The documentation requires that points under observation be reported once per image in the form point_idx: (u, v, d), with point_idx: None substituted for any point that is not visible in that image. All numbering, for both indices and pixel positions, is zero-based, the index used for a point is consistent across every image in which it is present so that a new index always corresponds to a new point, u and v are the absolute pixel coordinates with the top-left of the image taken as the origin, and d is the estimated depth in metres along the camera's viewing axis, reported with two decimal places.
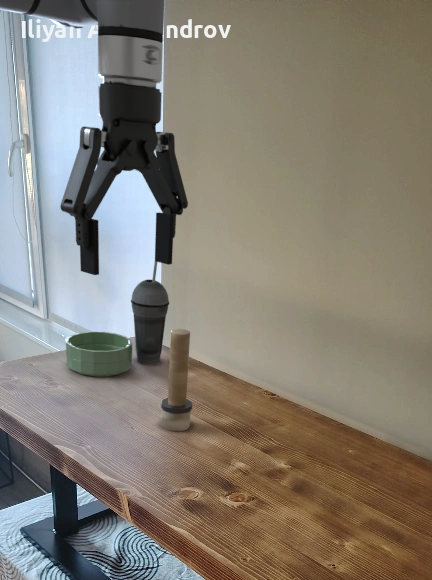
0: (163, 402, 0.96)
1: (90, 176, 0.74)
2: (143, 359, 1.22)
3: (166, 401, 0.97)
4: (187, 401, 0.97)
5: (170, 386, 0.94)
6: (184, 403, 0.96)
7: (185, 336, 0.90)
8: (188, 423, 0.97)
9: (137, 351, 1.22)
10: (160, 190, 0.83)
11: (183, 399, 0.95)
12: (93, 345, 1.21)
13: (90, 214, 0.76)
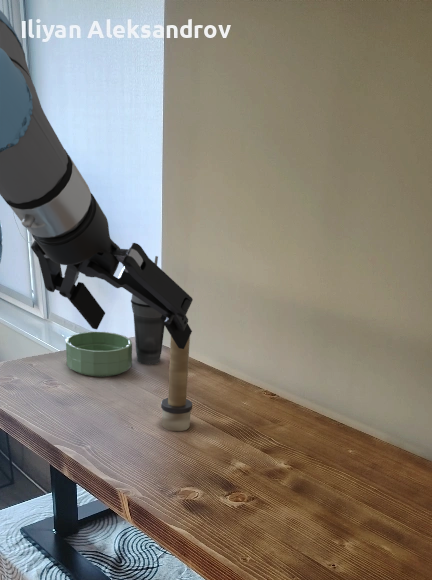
0: (163, 402, 0.96)
1: (48, 273, 0.75)
2: (143, 359, 1.22)
3: (166, 401, 0.97)
4: (187, 401, 0.97)
5: (170, 386, 0.94)
6: (184, 403, 0.96)
7: None
8: (188, 423, 0.97)
9: (137, 351, 1.22)
10: None
11: (183, 399, 0.95)
12: (93, 345, 1.21)
13: (63, 295, 0.79)
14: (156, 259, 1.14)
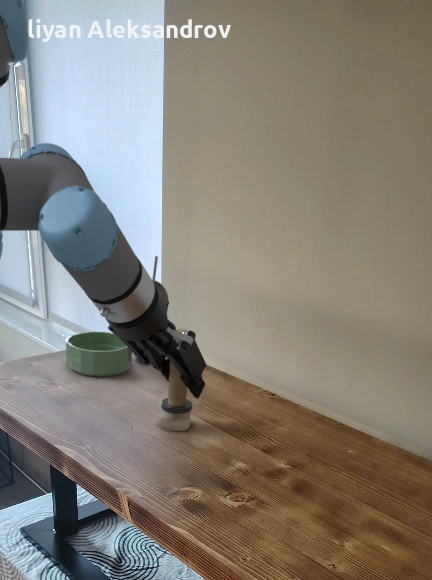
0: (163, 402, 0.96)
1: (132, 348, 0.90)
2: None
3: (166, 401, 0.97)
4: (187, 401, 0.97)
5: (170, 386, 0.94)
6: (184, 403, 0.96)
7: None
8: (188, 423, 0.97)
9: None
10: None
11: (183, 399, 0.95)
12: (93, 345, 1.21)
13: (155, 368, 0.93)
14: (156, 259, 1.14)
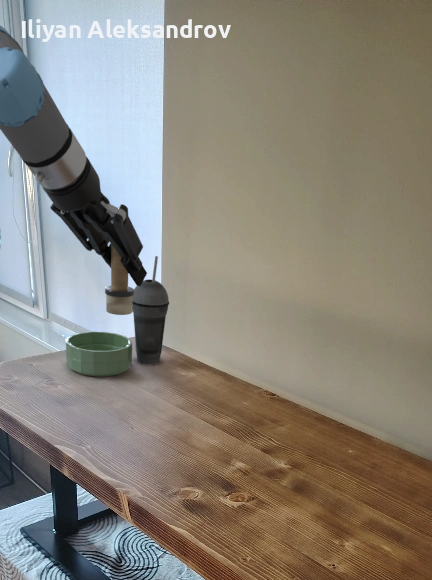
0: (107, 288, 1.04)
1: (75, 231, 0.98)
2: (143, 359, 1.22)
3: (110, 287, 1.05)
4: (129, 288, 1.05)
5: (112, 271, 1.02)
6: (125, 288, 1.04)
7: None
8: (130, 308, 1.05)
9: (137, 351, 1.22)
10: None
11: (124, 284, 1.03)
12: (93, 345, 1.21)
13: (98, 253, 1.01)
14: (156, 259, 1.14)
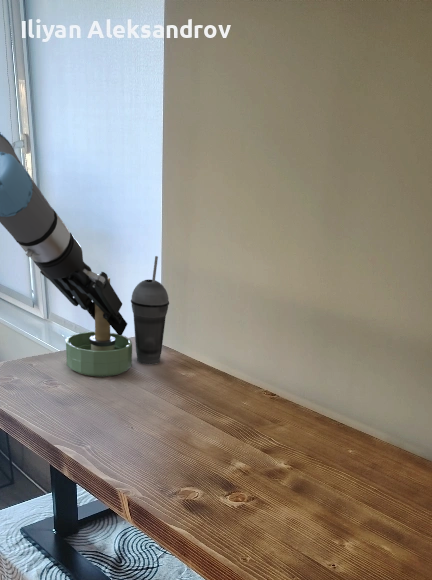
0: (91, 337, 1.18)
1: (62, 290, 1.11)
2: (143, 359, 1.22)
3: (94, 337, 1.18)
4: (111, 337, 1.19)
5: (96, 323, 1.16)
6: (108, 338, 1.17)
7: None
8: None
9: (137, 351, 1.22)
10: None
11: (107, 334, 1.17)
12: None
13: (83, 308, 1.14)
14: (156, 259, 1.14)
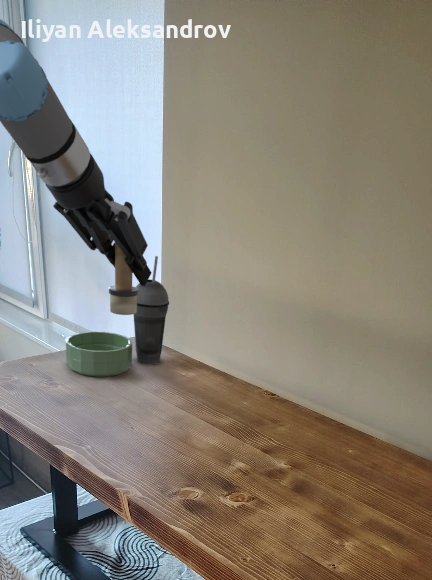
0: (110, 287, 1.03)
1: (78, 229, 0.96)
2: (143, 359, 1.22)
3: (113, 287, 1.03)
4: (134, 288, 1.04)
5: (116, 270, 1.01)
6: (130, 288, 1.02)
7: None
8: (134, 308, 1.04)
9: (137, 351, 1.22)
10: None
11: (129, 283, 1.02)
12: (93, 345, 1.21)
13: (102, 252, 1.00)
14: (156, 259, 1.14)
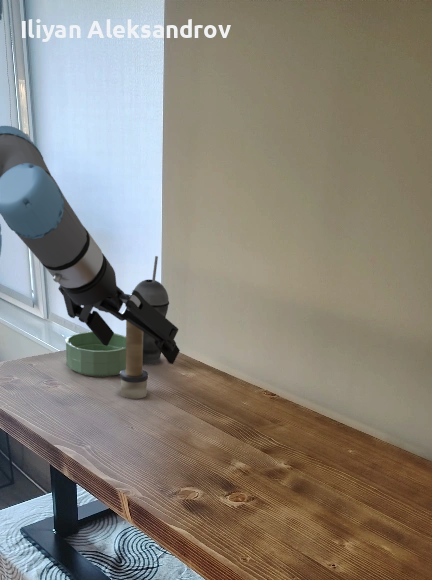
0: (121, 372, 1.06)
1: (70, 306, 0.99)
2: (143, 359, 1.22)
3: (124, 371, 1.06)
4: (144, 372, 1.07)
5: (127, 357, 1.04)
6: (140, 373, 1.06)
7: None
8: (144, 392, 1.07)
9: None
10: None
11: (139, 369, 1.05)
12: (93, 345, 1.21)
13: (81, 321, 1.02)
14: (156, 259, 1.14)
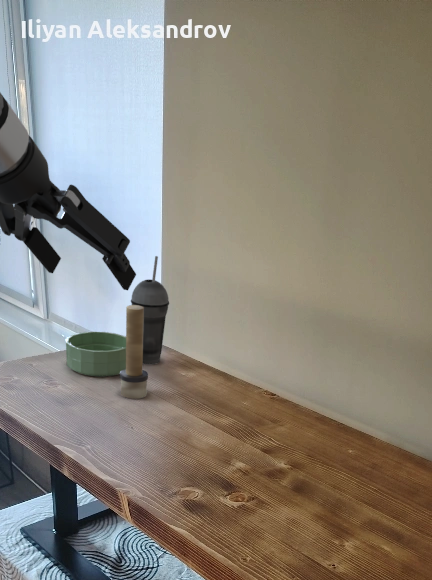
0: (121, 372, 1.06)
1: (1, 216, 0.82)
2: (143, 359, 1.22)
3: (124, 371, 1.06)
4: (144, 372, 1.07)
5: (127, 357, 1.04)
6: (140, 373, 1.06)
7: (139, 311, 1.00)
8: (144, 392, 1.07)
9: None
10: None
11: (139, 369, 1.05)
12: (93, 345, 1.21)
13: (18, 238, 0.86)
14: (156, 259, 1.14)
